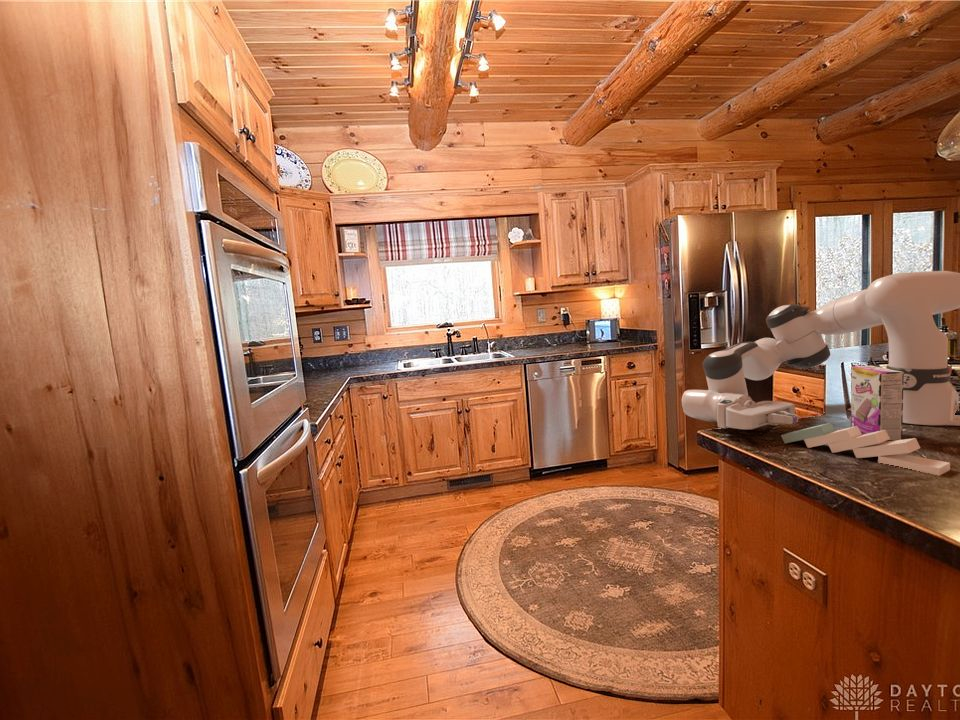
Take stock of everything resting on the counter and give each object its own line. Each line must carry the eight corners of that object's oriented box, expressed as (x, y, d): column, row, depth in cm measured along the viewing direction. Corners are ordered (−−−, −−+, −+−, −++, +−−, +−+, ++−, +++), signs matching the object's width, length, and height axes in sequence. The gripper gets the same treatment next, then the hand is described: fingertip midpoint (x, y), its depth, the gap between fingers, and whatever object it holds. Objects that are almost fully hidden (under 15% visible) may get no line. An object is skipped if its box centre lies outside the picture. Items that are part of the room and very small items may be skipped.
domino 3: (839, 439, 100) (885, 429, 92) (843, 448, 99) (890, 438, 92) (827, 444, 98) (874, 433, 90) (832, 453, 97) (879, 443, 89)
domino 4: (863, 444, 96) (915, 438, 88) (867, 453, 95) (920, 447, 88) (852, 448, 94) (905, 442, 86) (856, 458, 93) (909, 452, 85)
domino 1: (792, 431, 108) (831, 422, 101) (795, 439, 108) (835, 430, 100) (780, 435, 106) (820, 426, 98) (784, 443, 105) (824, 434, 98)
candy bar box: (848, 429, 113) (849, 365, 112) (871, 428, 112) (872, 365, 111) (878, 441, 102) (880, 371, 101) (903, 441, 101) (905, 371, 100)
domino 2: (814, 435, 104) (857, 425, 97) (818, 443, 104) (862, 434, 96) (803, 439, 102) (846, 429, 94) (807, 447, 101) (851, 438, 94)
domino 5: (889, 451, 92) (950, 462, 84) (889, 460, 92) (949, 472, 84) (878, 456, 90) (939, 468, 82) (878, 465, 90) (939, 478, 82)
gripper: (761, 415, 122) (817, 425, 110) (714, 428, 113) (770, 440, 101) (761, 393, 122) (818, 400, 110) (713, 404, 112) (770, 413, 100)
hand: (794, 419), depth 105 cm, fingers closed
